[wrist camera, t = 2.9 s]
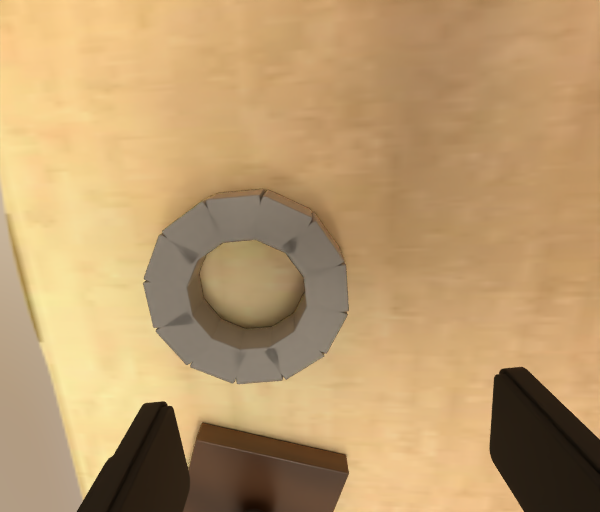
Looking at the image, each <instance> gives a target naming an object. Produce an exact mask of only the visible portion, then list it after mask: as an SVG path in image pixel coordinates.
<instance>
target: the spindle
mask: <svg viewBox="0 0 600 512" xmlns="http://www.w3.org/2000/svg"><path fill="white" fill-rule="evenodd" d="M188 471H189V475H190V490H189V494H188V497H187V500H186V504H185V507H184V510H183V512H333V511H334V509H335V506H336V504H337V501H338V499H339V496H340V494H341V492H342V489H343V487H344V484H345V482H346V479H347V477H348V474H349V471H348V465H347V458H346V455H343V454H338V453H334V452H329V451H325V450H320V449H316V448H312V447H307V446H303V445H298V444H294V443H289V442H285V441H280V440H276V439H272V438H267V437H263V436H258V435H254V434H249V433H245V432H240V431H236V430H231V429H227V428H223V427H218V426H214V425H209V424H205V423H202V424H201V427H200V430H199V432H198V435H197V438H196V442H195V446H194V450H193V454H192V458H191V462H190V466H189V470H188Z"/></svg>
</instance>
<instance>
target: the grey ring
mask: <svg viewBox="0 0 600 512" xmlns="http://www.w3.org/2000/svg"><path fill="white" fill-rule="evenodd" d="M247 240H257V241H259V242H262V243H264V244H266V245H268V246H271V247H273V248H275V249H278V250H280V251H282V252H284V253H286V255H287V256H288V257H289V259H290V260H291V261H292V263H293V264H294V265H295V267H296V268H297V269H298V271H299V272H300V273H301V275H302V276H303V277H304V287H305V292H304V294H303V296H302V298H301V300H300V302H299V304H298V306H297V308H296V310H295V312H294V313H293V314H291V315H289V316H288V317H286V318H285V319H283V320H282V321H280V322H279V323H277V324H276V325H274V326H272V327H263V328H251V329H245V328H242V327H240V326H237V325H235V324H233V323H230V322H228V321H225V320H223V319H221V318H220V317H219V316H218V315H217V313H216V312H215V311H214V310H213V309H212V308H211V306H210V305H209V304H208V303H207V302H206V301H205V299H204V297H203V292H202V286H201V281H200V276H199V271H200V269H201V266H202V264H203V261H204V259H205V256H206V255H207V254H208V253H209V252H211V251H212V250H214V249H215V248H216V247H218V246H219V245H221V244H222V243H225V242H236V241H247ZM144 280H146V281H145V282H144V283H143V285H144V289H145V293H146V298H147V302H148V306H149V311H150V315H151V319H152V323H153V327H154V328H157V330H156V332H157V333H158V335H159V336H160V337H161V338H162V339H163V340H164V341H165V342H166V343H167V344H168V345H169V347H170V348H171V349H172V350H173V351H174V352H175V353H176V354H177V355H178V356H179V357H180V358H181V360H182V361H183V362H184V363H185V364H186V365H188V364H190V363H191V362H192V363H191V365H190V367H191V368H194V369H196V370H199V371H201V372H204V373H207V374H209V375H212V376H215V377H217V378H220V379H222V380H225V381H228V382H230V383H234V382H235V380H236V382H237V384H246V383H258V382H270V381H281V380H283V377H284V378H285V379H288V378H290V377H291V376H293V375H294V374H296V373H298V372H299V371H301V370H303V369H304V368H306V367H307V366H309V365H311V364H312V363H314V362H316V361H317V360H319V359H321V358H322V357H324V353H327V352H328V350H329V348H330V346H331V345H332V343H333V341H334V339H335V337H336V335H337V334H338V332H339V330H340V328H341V326H342V324H343V323H344V321H345V319H346V317H347V315H348V314H347V311H349V305H348V288H347V271H346V264H345V261H344V259H343V256H342V253H341V251H340V248H339V247H338V245H337V244H336V242H335V241H334V239H333V238H332V237H331V235H330V234H329V232H328V231H327V229H326V228H325V227H324V225H323V224H322V222H321V221H320V220H319V218H318V217H317V215H316V214H315V213H314V212H312V213H311V209H309V208H307V207H305V206H303V205H301V204H299V203H296V202H294V201H292V200H290V199H288V198H285V197H283V196H281V195H279V194H277V193H275V192H272V191H270V190H267V191H266V192H264V189H255V190H245V191H234V192H223V193H217V194H215V195H211V196H210V197H208V198H206V199H204V200H203V201H201V202H200V203H198V204H197V205H196V206H194V207H193V208H192V209H190V210H189V211H188V212H186V213H185V214H184V215H182V216H181V217H180V218H178V219H177V220H176V221H174V222H173V223H172V224H170V225H169V226H168V227H166V228H165V229H164V230H162V233H161V234H160V235H159V237H158V239H157V242H156V245H155V248H154V251H153V253H152V256H151V259H150V262H149V265H148V267H147V270H146V273H145V276H144Z"/></svg>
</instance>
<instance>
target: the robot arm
mask: <svg viewBox="0 0 600 512" xmlns="http://www.w3.org/2000/svg"><path fill="white" fill-rule="evenodd" d="M490 455H491V458H492V461H493V463H494V464H495V466H496V468H497V469H498V471H499V472H500V474H501V475H502V477H503V479H504V480H505V482H506V483H507V485H508V487H509V488H510V490H511V491H512V493H513V495H514V496H515V498H516V499H517V501H518V502H519V504H520V506H521V507H522V509H523V510H524V512H600V440H599V439H598V438H597V437H596V436H595V435H594V434H593V433H592V432H591V431H590V430H589V429H588V428H587V427H586V426H585V425H584V424H583V423H582V422H581V421H580V420H579V419H578V418H577V417H576V416H575V415H574V414H572V413H571V412H570V411H569V410H568V409H567V408H566V407H565V406H564V405H563V404H562V403H561V402H560V401H559V400H558V399H557V398H556V397H555V396H554V395H553V394H552V393H551V392H550V391H549V390H548V389H547V388H545V387H544V386H543V385H542V384H541V383H540V382H539V381H538V380H537V379H536V378H535V377H534V376H533V375H532V374H531V373H530V372H529V371H528V370H527V369H525V368H524V367H515V368H505V369H501V370H500V372H499V374H498V375H495V377H494V388H493V403H492V419H491V434H490ZM189 490H190V475H189V471H188V467H187V463H186V459H185V455H184V450H183V446H182V442H181V438H180V434H179V430H178V426H177V421H176V417H175V413H174V409H173V407H172V406H167V404H166V402H164V401H163V402H153V403H145V404H143V405H142V407H141V409H140V410H139V412H138V414H137V415H136V417H135V419H134V421H133V422H132V424H131V426H130V428H129V429H128V431H127V433H126V435H125V436H124V438H123V440H122V441H121V443H120V445H119V447H118V448H117V450H116V452H115V454H114V455H113V456H112V457H111V458H109V459H108V460H107V462H106V463H105V465H104V466H103V468H102V470H101V471H100V473H99V475H98V476H97V478H96V480H95V482H94V483H93V485H92V487H91V488H90V490H89V492H88V493H87V495H86V497H85V499H84V500H83V502H82V504H81V505H80V507H79V509H78V510H77V512H183V510H184V507H185V504H186V500H187V497H188V494H189Z"/></svg>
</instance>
